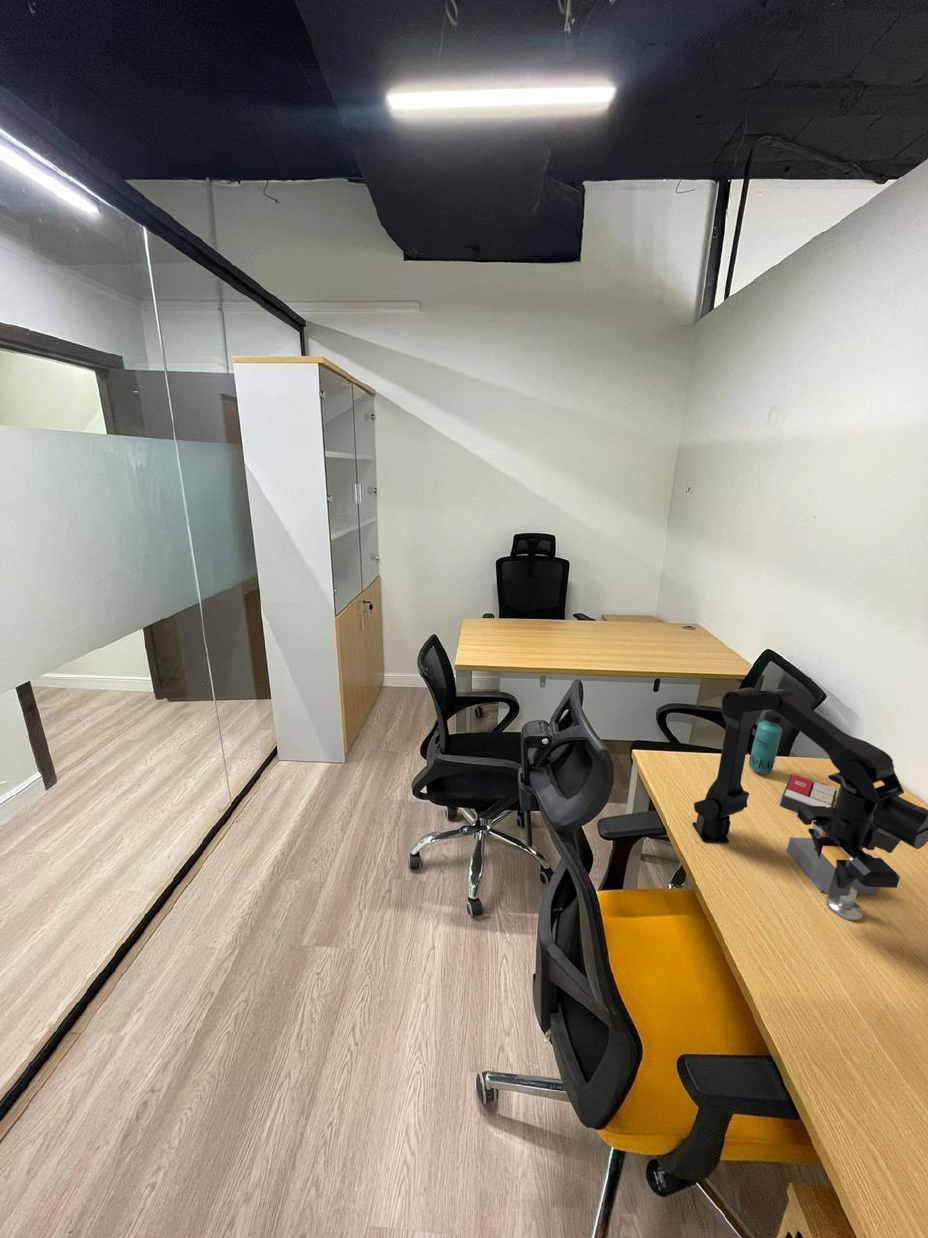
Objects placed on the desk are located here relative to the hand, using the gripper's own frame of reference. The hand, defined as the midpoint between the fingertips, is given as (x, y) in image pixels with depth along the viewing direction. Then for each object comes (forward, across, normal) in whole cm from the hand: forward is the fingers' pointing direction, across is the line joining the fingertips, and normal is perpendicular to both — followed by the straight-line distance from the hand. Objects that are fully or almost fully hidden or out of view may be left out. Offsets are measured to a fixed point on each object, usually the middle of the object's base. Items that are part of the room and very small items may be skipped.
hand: (833, 878), depth 95 cm
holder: (+10, +13, -11) cm, 20 cm away
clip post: (+10, +3, -7) cm, 13 cm away
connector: (+2, 0, 0) cm, 2 cm away
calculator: (+11, +38, -23) cm, 46 cm away
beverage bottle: (+11, +52, -17) cm, 56 cm away
